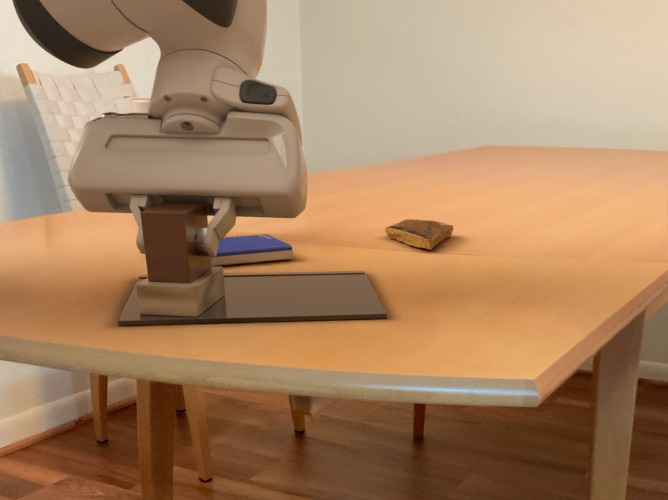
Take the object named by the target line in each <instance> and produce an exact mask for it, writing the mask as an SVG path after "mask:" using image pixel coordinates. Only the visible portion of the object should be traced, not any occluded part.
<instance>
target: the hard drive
mask: <svg viewBox="0 0 668 500" xmlns="http://www.w3.org/2000/svg"><path fill="white" fill-rule="evenodd" d="M293 256H294V255H293V246H292V245H291V244H290V243H287V242H286V241H283V240H281V239H278V238H276V237H274V236H271V235H270V234H267V233H265V234H252V235H240V236H239V235H237V236H227V237H226V236H225V237H223V239H222V240H219V245H218V250H217V255H216V256H211V265H212V266H216V267H223V266H232V265H241V264H253V263H264V262H275V261H285V260H287V261H288V260H293V258H294V257H293Z"/></svg>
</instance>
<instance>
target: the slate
mask: <svg viewBox="0 0 668 500" xmlns="http://www.w3.org/2000/svg"><path fill="white" fill-rule="evenodd" d="M223 275H224V288H225V295H224V296H223V297H222V298H220V299H219V300H218V301H217V302H215V303H214V304H213V305H212V306H211V307H209V308H208V309H207V310H206V311H204V312H203V313H202V314H201V315H200V316H198V317H185V316H160V315H140V313H139V305H138V297H137V289H136V284H138V283H140V282H141V281H143V280H145V279H146V278H148V274H139V275H138V278H137V281H136V283H135V285H134V287H133V288H132V291H131V293H130V295H129V297H128V299H127V301H126V303H125V306H124V308H123V310H122V312H121V313H120V316H119V318H118V319H117V324H118V325H117V326H119V327H123V326H127V327H129V326H159V325H161V326H163V325H165V326H166V325H197V324H230V323H231V324H232V323H233V324H234V323H235V324H236V323H269V322H271V323H272V322H303V321H305V322H306V321H342V320H376V319H377V320H378V319H380V320H382V319H387V318H388V316H387V312H386V310H385V308H384V306H383V305H382V303H381V301H380V299H379V296H378V295H377V293H376V290H375V289H374V287H373V285H372V283H371V282H370V280H369V278H368V276H367V274H366V272H365V270H328V271H327V270H325V271H324V270H323V271H277V272H273V271H272V272H269V271H268V272H236V273H235V272H227V273H225V272H223Z"/></svg>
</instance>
